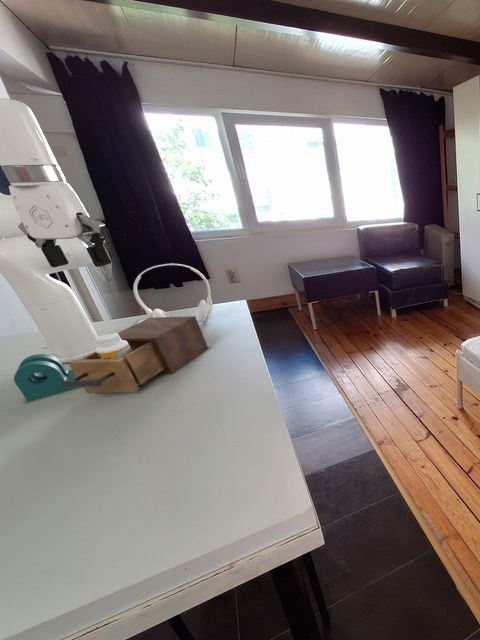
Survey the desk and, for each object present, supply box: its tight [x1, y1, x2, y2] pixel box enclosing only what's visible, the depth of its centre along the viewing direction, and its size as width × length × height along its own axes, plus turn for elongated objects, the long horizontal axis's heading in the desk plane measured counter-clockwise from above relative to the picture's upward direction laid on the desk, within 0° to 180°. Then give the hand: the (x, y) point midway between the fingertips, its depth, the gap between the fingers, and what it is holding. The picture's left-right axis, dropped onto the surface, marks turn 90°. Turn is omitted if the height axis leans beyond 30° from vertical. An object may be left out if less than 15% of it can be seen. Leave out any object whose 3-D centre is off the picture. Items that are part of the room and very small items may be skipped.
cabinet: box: [116, 315, 209, 374], centre depth 94 cm, size 14×13×10 cm
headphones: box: [133, 263, 214, 325], centre depth 112 cm, size 7×18×20 cm, turn 127°
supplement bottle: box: [95, 332, 134, 378], centre depth 83 cm, size 6×6×10 cm
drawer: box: [62, 341, 166, 394], centre depth 82 cm, size 17×11×8 cm, turn 178°
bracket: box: [13, 353, 78, 402], centre depth 86 cm, size 18×7×8 cm, turn 131°
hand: (82, 265), depth 77 cm, fingers open, 9 cm apart
